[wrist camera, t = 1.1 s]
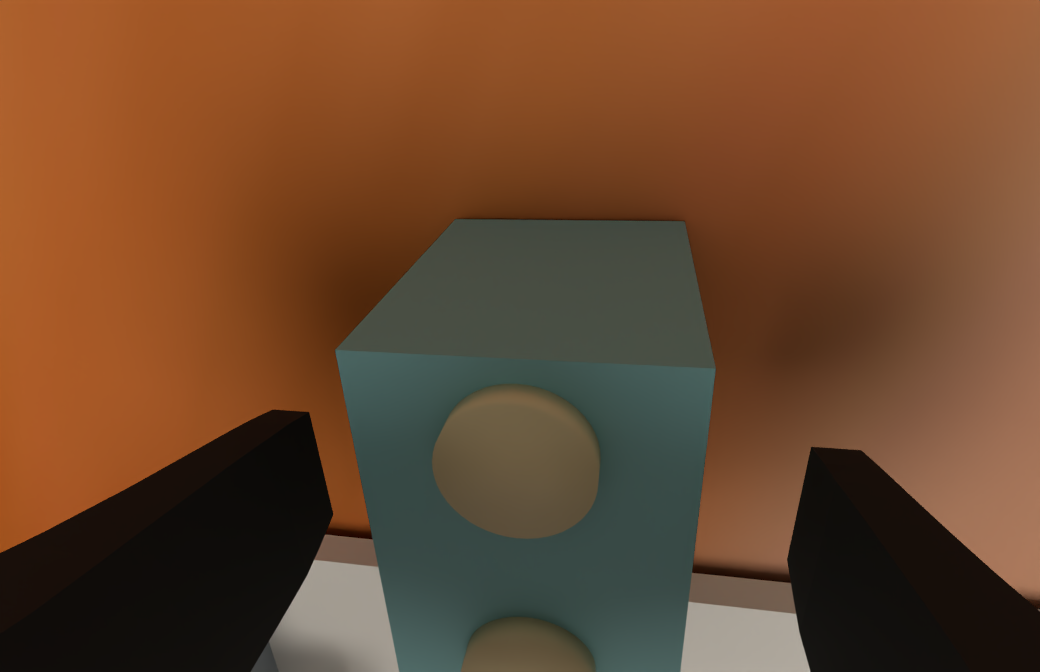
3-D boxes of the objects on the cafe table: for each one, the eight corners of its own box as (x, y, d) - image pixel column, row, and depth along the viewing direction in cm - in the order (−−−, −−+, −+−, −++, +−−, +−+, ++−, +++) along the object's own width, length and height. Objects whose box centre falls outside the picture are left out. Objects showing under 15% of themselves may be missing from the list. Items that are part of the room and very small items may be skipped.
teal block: (662, 496, 13) (674, 765, 8) (478, 481, 14) (394, 722, 9) (684, 221, 10) (720, 390, 6) (455, 219, 11) (317, 367, 6)
